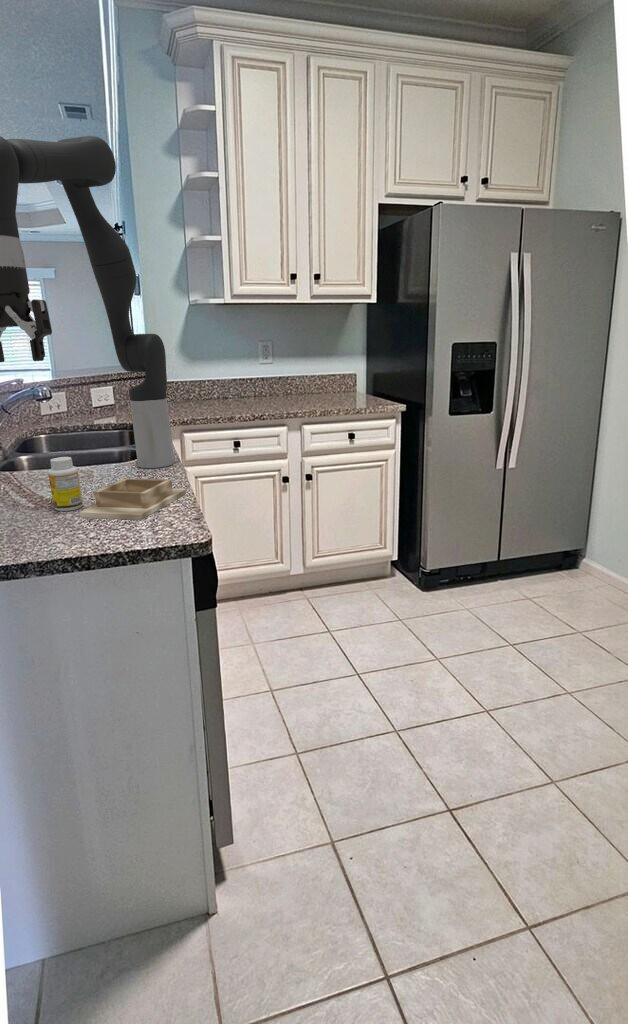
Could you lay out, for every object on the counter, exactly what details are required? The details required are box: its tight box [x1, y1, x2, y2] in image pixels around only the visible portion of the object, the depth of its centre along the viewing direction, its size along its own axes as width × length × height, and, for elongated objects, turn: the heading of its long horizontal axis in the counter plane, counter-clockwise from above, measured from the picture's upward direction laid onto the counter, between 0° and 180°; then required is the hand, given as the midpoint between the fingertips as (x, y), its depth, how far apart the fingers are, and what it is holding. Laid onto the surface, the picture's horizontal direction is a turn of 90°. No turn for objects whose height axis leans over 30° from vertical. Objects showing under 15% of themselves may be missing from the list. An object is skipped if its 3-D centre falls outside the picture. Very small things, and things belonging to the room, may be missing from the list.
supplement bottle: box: [47, 456, 84, 512], centre depth 123 cm, size 6×6×10 cm
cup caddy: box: [79, 478, 187, 521], centre depth 124 cm, size 19×13×4 cm
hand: (18, 361), depth 112 cm, fingers open, 8 cm apart
